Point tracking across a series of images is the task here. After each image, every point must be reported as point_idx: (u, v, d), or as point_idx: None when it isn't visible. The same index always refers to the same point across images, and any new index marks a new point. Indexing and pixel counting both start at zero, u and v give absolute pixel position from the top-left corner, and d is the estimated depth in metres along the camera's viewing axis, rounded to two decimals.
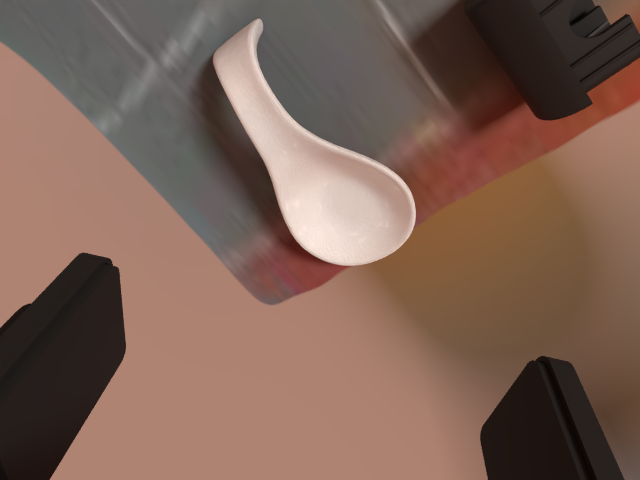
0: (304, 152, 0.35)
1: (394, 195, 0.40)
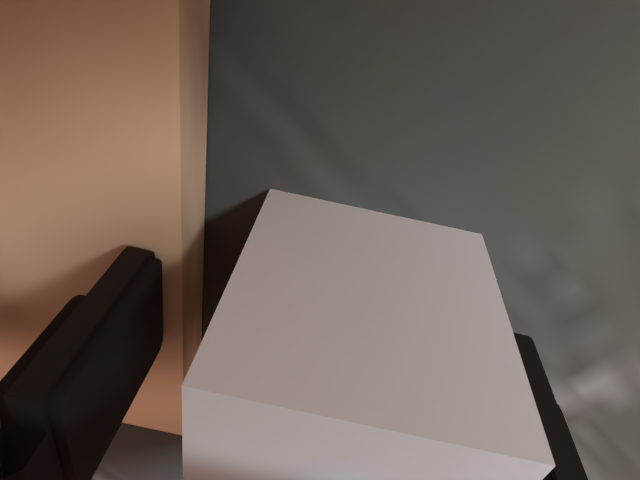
0: None
1: None
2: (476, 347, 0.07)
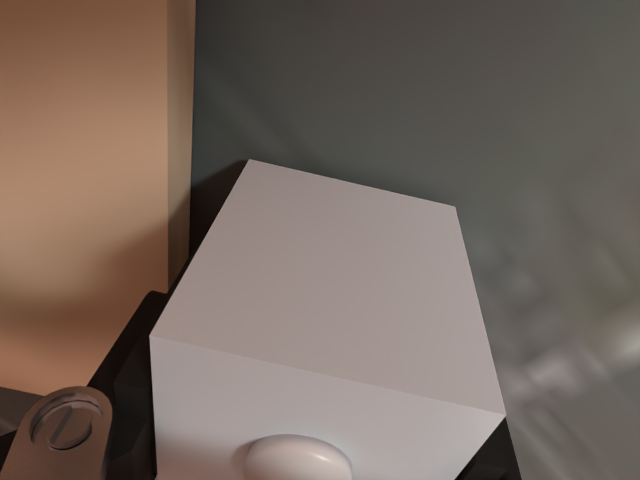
0: None
1: None
2: (440, 309, 0.08)
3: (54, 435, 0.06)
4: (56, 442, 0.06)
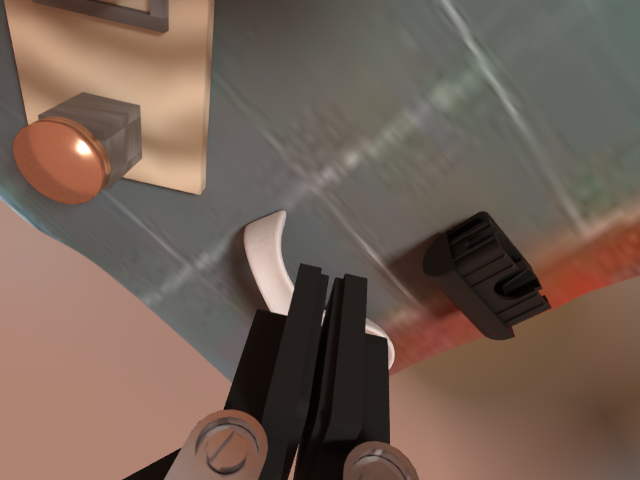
0: None
1: None
2: None
3: (214, 455, 0.07)
4: (214, 463, 0.06)
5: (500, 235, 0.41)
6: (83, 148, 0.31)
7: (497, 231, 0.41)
